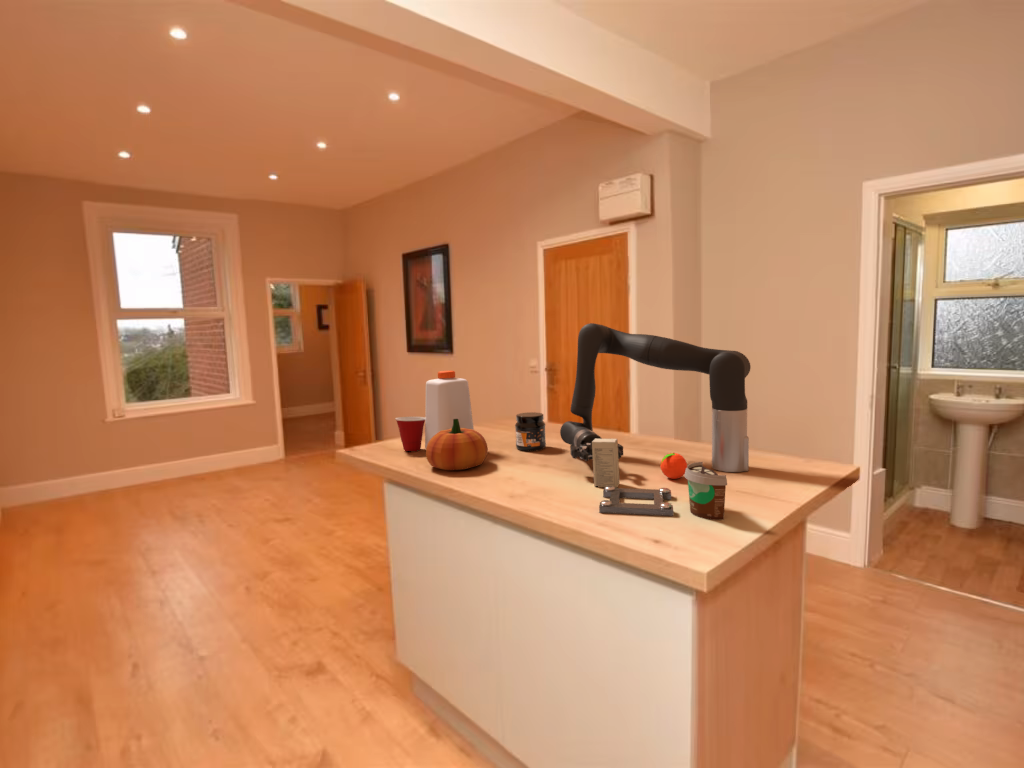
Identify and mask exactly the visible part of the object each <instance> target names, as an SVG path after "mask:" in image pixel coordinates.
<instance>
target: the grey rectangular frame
mask: <svg viewBox="0 0 1024 768" xmlns="http://www.w3.org/2000/svg"><path fill="white" fill-rule="evenodd" d="M602 491H603V492H602V497H603V498H609V500H608V499H603V500H601V501H599V505H598V506H599V507H598V509H599V512H598V513H599V514H618V515H619V514H621V515H637V516H639V515H640V516H656V517H657V516H658V517H659V516H661V517H674V505H673V504H672V503H670V502H664V500H665V501H672V490H671V489H670V488H669V487H660V488H659V489H656V488H655V489H654V488H653V489H652V488H624V487H617V488H615V487H614V486H606V487H603V490H602ZM620 499H637V500H638V499H640V500H653V504H652V503H633V502H632V503H631V502H630V503H629V502H620ZM663 499H664V500H663Z"/></svg>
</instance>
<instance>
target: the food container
mask: <svg viewBox="0 0 1024 768" xmlns="http://www.w3.org/2000/svg"><path fill="white" fill-rule="evenodd" d="M703 462H704V461H696V462H692V463H689V464H687V468H686V471H685V474H684V475H683V476H684V478H685V479H686V480H687V489H688V502H689V510H690V511H689V512H690V513H691V514H692V515H693V516H695V517H697V518H701V519H706V520H713V521H714V520H715V521H722V520H725V507H726V506H725V503H726V488H727V487H726V486H728V478H727V475H726V474H718V473H717V472H715V471H714V469H709V468H707V467H705V466H704V463H703Z"/></svg>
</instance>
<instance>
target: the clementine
mask: <svg viewBox="0 0 1024 768" xmlns="http://www.w3.org/2000/svg"><path fill="white" fill-rule="evenodd" d="M659 466H660V470H661V472H662V474H663V475H664V476H665V477H667V478H668V479H672V480H677V479H680V478H682V477H683V476H684V475H685V471H686V468H687V466H688V463H687V460H686V459H685V457H684V456H683V455H681V454H679V453H676V452H670V453H667V454H666V455H664V456H663V458H662V459H661V461H660V465H659Z"/></svg>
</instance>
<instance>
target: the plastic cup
mask: <svg viewBox="0 0 1024 768" xmlns="http://www.w3.org/2000/svg"><path fill="white" fill-rule="evenodd" d="M394 420H396V424H397V428H398V432H399V435H400V440H401V443H402V447H403V450H405V451H415V452H418V451H417V450H419V451H420V450H421V448H422V441H423V431H424V426H425V416H400V417H395V419H394ZM405 451H404V452H405Z"/></svg>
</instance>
